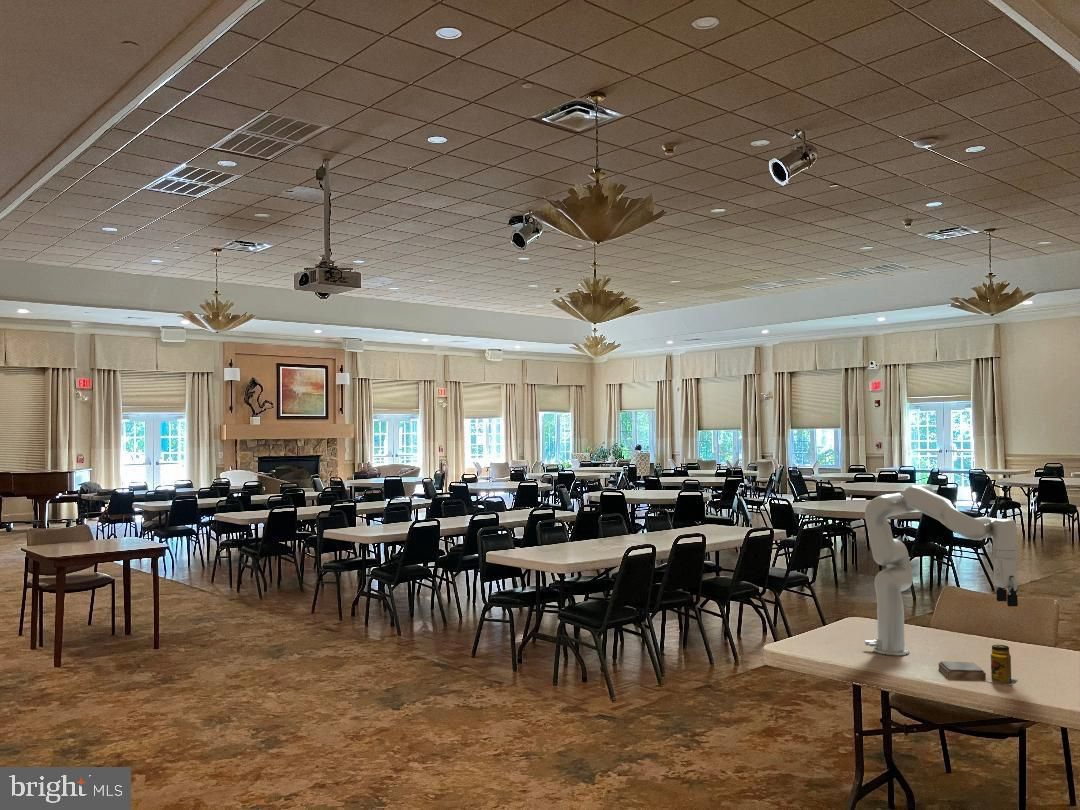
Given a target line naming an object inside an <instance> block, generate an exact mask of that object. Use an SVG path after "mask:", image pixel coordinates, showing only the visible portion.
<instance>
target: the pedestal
mask: <svg viewBox="0 0 1080 810" xmlns="http://www.w3.org/2000/svg"><path fill="white" fill-rule="evenodd" d="M938 670H939V671H940V672H941V673H942V675H944V676H945V677H946V678H947V679H949V680H974V681H975V680H980V681H981V680H983V681H986V680H987V677H986V675H987V674H986V672H985V670H983V669H982V668H981V667H980V666H979V665H978V664H976V663H975V662H974V661H940V662H938Z"/></svg>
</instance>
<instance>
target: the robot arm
mask: <svg viewBox="0 0 1080 810" xmlns="http://www.w3.org/2000/svg"><path fill="white" fill-rule="evenodd" d="M913 511H918V512H920V513H922V514H924V515H926V516H929V517H931V518H933V519H935V520H937V521H939V522H940V523H941V524H942V525H944V526H945V527H946V528H947V529H949V530H950V531H952V532H954V533H956V534H958V535H961V536H962V537H965V538H967V539H969V540H973V541H980V540H983V539H989V538H992V552H993V575H992V577H993V580H992V581H993V584H994V585H995V589H996V590H995V591H996V601H997V602H1006V603H1007V606H1008V607H1018V604H1019V603H1018V601H1019V599H1018V594H1019V593H1018V591H1019V590H1018V586H1019V584H1018V583H1019V581H1018V579H1019V578H1018V570H1017V569H1018V568H1017V561H1016V560H1018V543H1017V542H1018V538H1017V535H1018V534H1017V522H1016V521H1015V520H1014V519H1012V518H994V517H993V518H992V517H987V516H980V517H972V516H969V515H967V514H965V513H963V512H961V511H959V510H958V509H956V507H954V506H953V503H952V501H951V500H950V499H948V498H947V497H944V496H942V495H939V494H937V493H936V492H935V490H934V489H933V488H932V487H931V486H929V485H928V484H913V485H910V486H908V487H907V488H905V490H902V491H899V492H896V493H895V492H894V493H888V494H881V495H878V496H876V497H874V498H872V499H871V500H870V501H869V502H868V504H867V505H866V507H865V510H864V520H865V524H866V528H867V533H868V539H869V543H870V549H871V554H872V558H873V560H874V562H875V563H876V564H878V565H880V566H886V568H884V569H882V570H881V571H878V572H877V574H876V575H875V578H874V591H875V595H876V613H877V615H876V617H877V637H876V638H875V639H873V640H867V639H866V640H864V645H865V646H869V647H873V651H874V653H876V654H877V653H878V654H880V655H885V654H886V655H885V656H906V654H907V655H909V653H910V650H909V648H907V647H906V646H905V611H904V608H905V607H904V601H903V595H902V592H904V591H906V590H908V589H910V588H911V586H913V582H914V577H913V571H912V565H911V562H910V556H909V552H908V549H907V546H906V545H905V543H904V542H902V541H901V540H900V539H897V538H894V536H893V532H892V528H891V525H890V523H889V521H888V518H889V517H896V516H902V515H905V514H907V513H911V512H913Z"/></svg>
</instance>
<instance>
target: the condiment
mask: <svg viewBox="0 0 1080 810" xmlns="http://www.w3.org/2000/svg"><path fill="white" fill-rule="evenodd" d="M1011 657H1012V656H1011V654H1010V647H1009V646H1008V645H1004V644H993V645H991V653H990V670H991V671H990V675H991V677H990V679H989V680H988V681H987V682H988V683H992V684H998V685H1005V686H1006V685H1007V686H1012V685H1014V684H1015V682H1017V681H1018V679H1017V678H1015V679H1014V678H1012V658H1011Z"/></svg>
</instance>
